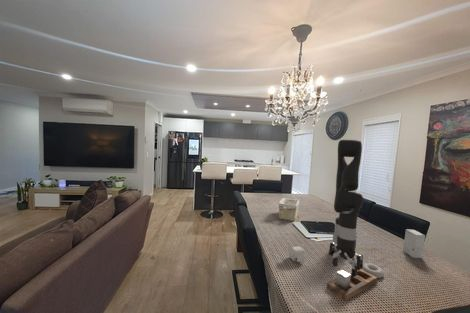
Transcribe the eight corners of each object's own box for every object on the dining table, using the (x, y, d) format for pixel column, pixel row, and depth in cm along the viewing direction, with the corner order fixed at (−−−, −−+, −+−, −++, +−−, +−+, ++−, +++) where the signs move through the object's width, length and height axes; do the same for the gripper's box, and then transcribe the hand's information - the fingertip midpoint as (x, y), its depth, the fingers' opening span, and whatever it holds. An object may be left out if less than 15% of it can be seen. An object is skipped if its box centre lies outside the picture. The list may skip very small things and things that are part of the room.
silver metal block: (335, 289, 94) (336, 272, 94) (340, 286, 96) (342, 269, 96) (344, 295, 91) (345, 277, 90) (349, 291, 93) (351, 274, 92)
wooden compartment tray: (326, 288, 95) (327, 282, 95) (358, 273, 108) (358, 267, 108) (345, 302, 87) (346, 294, 87) (376, 283, 100) (377, 276, 100)
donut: (356, 270, 111) (375, 281, 102) (357, 264, 111) (376, 274, 102) (368, 266, 115) (388, 277, 106) (369, 260, 115) (388, 270, 106)
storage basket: (282, 211, 206) (282, 197, 205) (298, 214, 200) (299, 199, 199) (277, 219, 184) (278, 202, 183) (296, 222, 178) (297, 205, 177)
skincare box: (402, 251, 134) (404, 228, 133) (411, 251, 134) (413, 229, 133) (413, 258, 126) (415, 234, 125) (423, 258, 126) (425, 234, 125)
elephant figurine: (295, 267, 111) (296, 251, 111) (284, 255, 123) (285, 241, 122) (310, 265, 114) (311, 249, 113) (298, 253, 125) (299, 239, 125)
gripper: (327, 231, 96) (324, 265, 97) (358, 244, 84) (355, 282, 85) (336, 228, 100) (334, 261, 101) (367, 240, 88) (365, 277, 89)
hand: (344, 271), depth 93 cm, fingers open, 8 cm apart
